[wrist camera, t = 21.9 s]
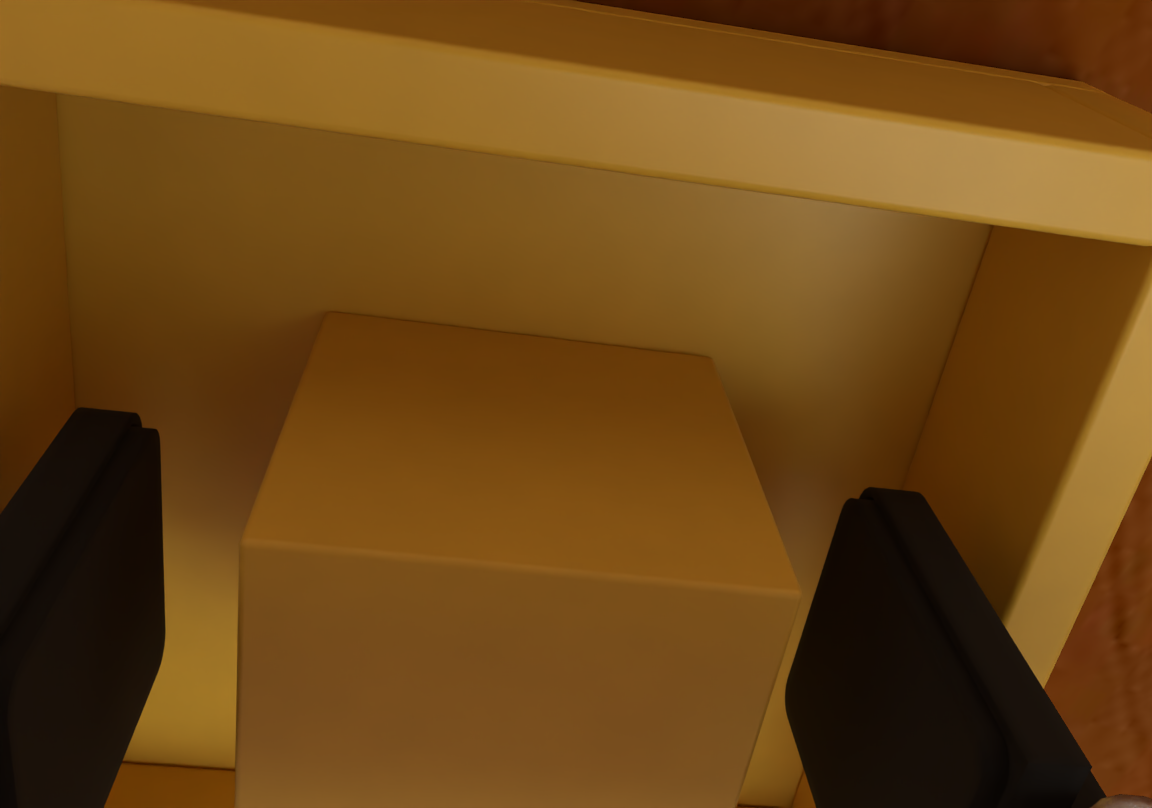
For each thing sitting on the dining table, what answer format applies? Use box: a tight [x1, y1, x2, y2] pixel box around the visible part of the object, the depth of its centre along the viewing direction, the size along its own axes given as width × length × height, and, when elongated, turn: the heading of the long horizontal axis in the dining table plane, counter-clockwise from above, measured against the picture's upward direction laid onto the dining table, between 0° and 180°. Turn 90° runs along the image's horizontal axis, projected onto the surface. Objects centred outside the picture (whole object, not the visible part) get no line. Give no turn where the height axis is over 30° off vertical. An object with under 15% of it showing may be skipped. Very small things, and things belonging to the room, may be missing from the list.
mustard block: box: [234, 312, 802, 808], centre depth 12 cm, size 4×4×4 cm
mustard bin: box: [0, 0, 1152, 808], centre depth 12 cm, size 12×12×4 cm
